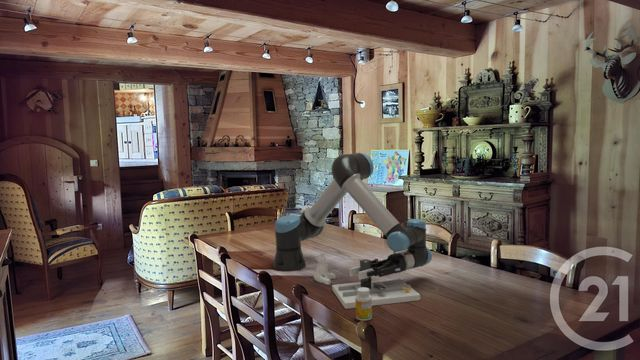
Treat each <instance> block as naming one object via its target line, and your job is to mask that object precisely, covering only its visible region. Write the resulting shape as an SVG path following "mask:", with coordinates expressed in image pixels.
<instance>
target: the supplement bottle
mask: <svg viewBox="0 0 640 360" xmlns="http://www.w3.org/2000/svg"><path fill="white" fill-rule="evenodd" d="M369 293H370V292H369V288H366V287H361V288H358V289H357V294H358V295H356V297H355V303H356V308H355V319H357V320H359V321H361V322H367V321H370V320H372V318H373V306H372V297H371V296H370V295H369Z"/></svg>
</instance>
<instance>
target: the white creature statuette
mask: <svg viewBox="0 0 640 360" xmlns="http://www.w3.org/2000/svg"><path fill="white" fill-rule="evenodd" d="M314 258H315V260H316V261H317V263H318V264H317V265H316V270H315V271H314V273H313V279H314V281H316V282H317V283H321V284H324V285H326V286H329V285H331V283H332V281H331V280H336V277H337V276H336V274H335V273H333V272H329V270H328V265H327V257H326V254H324V252H320V253H318V254H316V256H315V257H314Z"/></svg>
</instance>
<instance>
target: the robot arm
mask: <svg viewBox="0 0 640 360" xmlns="http://www.w3.org/2000/svg"><path fill="white" fill-rule="evenodd" d="M373 173H374V163H373V160H372V159H371V157H370V155H368V154H366V153H362V152H355V153H348V154H345V153H344V154H340V155H338V156H337V157H336V158H335V159H334V160H333V162H332V164H331V176H332V177H333V179H332V181H331V183H329V184H328V186H327V187H326V189H325V190H324V191H323V192H322V194H320V196H319V197H318V199H316V201H315V202H314V203H313V204H312V206H311V207H307V208H305V209H304V211H303V212H302V213H301V214H300V216H299V215H297V214H290V215H289V214H288V215H283V216H280V217H278V218H277V219H276V220H275V225H274V226H275V227H274V232H275V233H274V234H275V247H276V248H275V249H276V250H275V253H274V259H273V263H272V265H273V267H272V268H273V269H274V270H276V271H280V270H281V272H293V271H292V270H294V271H298V269H299V270H301V268H302V269H303V268H305V267H306V259H305V255H304V253H303V251H302V241H303V242H304V241H306V240H309V239H314V238H316V237H318V236H320V235H321V234H322V233H323V231H324V229H325V226H324V225H326V218H327V217H328V216H329V215H330V213H332V211H333V210H334V209H335V208H336V207H337V205H338V204H339V203H340V202H341V201H342V199H344V197H345V196H346V195H347V194H348V195H349V196H351V198H352V200H354V201H355V202H356V204H357V205H358V206H359V207H360V208H361V209H362V211H364V213H365V214H366V215H367V217H369V219H371V221H372V222H373V223H374V225H376V227H377V228H378V229H379V230H380V232H382V233H383V235H384V236H385V237H386V243H387V246H388V248H389V250H391V251H395V252H396V253H395V254H393V253H392V254H390V255H388V256H387V258H385V259H382V260H379V259H378V258H375V259H372V260H371V269H368V270H364V271H361V272H360V265H359V266H356V267H352V268H349V276H350V277H354V276H358V280H360V281H361V279H365V278H368V277H371V278H372V277H379V278H382V277H385V276H390V275H393V274H398V273H399V274H400V273H402V272H407V271H408V270H412V269H416V268H419V267H424V266H426V265H428V264H429V263H431V261H432V258H433V254H432V252H431V250H430V249H429V247H427V224H426V221H425V220H424V219H420V218H410V219H408V220H407V221H406V227H404V226H403V225H402V224H401V223H400V222H399V220H398V219H397V218H396V217H395V216H394V215H393V213H391V212H390V211H389V209H387V207H386V206H385V204H383V203H382V202H381V201H380V199H379V198H378V197H377V196H376V194H374V192H373V191H372V190H371V189H370V188H369V187H368V186H367V184H366V183H365V182H364V181H363V180H366V179H368V178H370V177H371V176H372V175H373Z"/></svg>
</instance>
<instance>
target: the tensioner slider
mask: <svg viewBox="0 0 640 360" xmlns="http://www.w3.org/2000/svg"><path fill="white" fill-rule="evenodd" d="M371 261H372V260H370V259H366V258H365V259H360V260H359V266H360V272H361V271H364V270H368V269H371ZM371 281H372V277H368V278H365V279H361V280H360V282H361V285H358V286H354V290H357V289H358V288H361V287H366V288H369V289H374V288H377V289H378V290H379V291H382V290H386V288H385V286H384V285H383V284H382V283H376V284H371Z"/></svg>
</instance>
